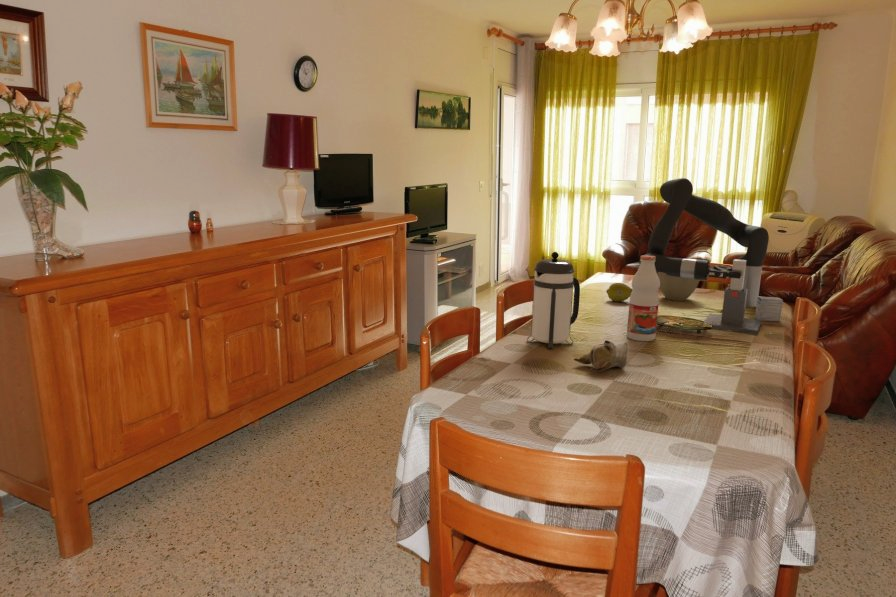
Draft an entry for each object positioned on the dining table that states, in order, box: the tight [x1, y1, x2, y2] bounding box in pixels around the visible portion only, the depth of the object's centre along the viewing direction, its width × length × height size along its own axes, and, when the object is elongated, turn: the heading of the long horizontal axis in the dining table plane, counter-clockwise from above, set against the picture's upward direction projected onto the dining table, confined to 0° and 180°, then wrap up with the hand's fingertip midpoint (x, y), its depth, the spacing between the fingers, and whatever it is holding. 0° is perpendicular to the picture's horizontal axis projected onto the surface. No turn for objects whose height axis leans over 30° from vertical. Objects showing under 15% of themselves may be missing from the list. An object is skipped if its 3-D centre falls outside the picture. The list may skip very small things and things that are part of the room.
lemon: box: [605, 282, 632, 303], centre depth 274 cm, size 11×8×8 cm
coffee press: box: [526, 251, 581, 350], centre depth 209 cm, size 17×16×30 cm
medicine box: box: [754, 296, 784, 322], centre depth 248 cm, size 8×4×9 cm, turn 84°
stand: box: [703, 286, 762, 335], centre depth 238 cm, size 18×18×14 cm
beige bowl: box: [657, 272, 700, 302], centre depth 282 cm, size 18×18×12 cm
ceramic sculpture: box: [573, 340, 629, 373], centre depth 187 cm, size 11×9×15 cm
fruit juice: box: [626, 254, 660, 342], centre depth 217 cm, size 9×9×28 cm
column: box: [729, 258, 746, 292], centre depth 237 cm, size 4×4×22 cm
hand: (742, 273), depth 235 cm, fingers open, 8 cm apart
